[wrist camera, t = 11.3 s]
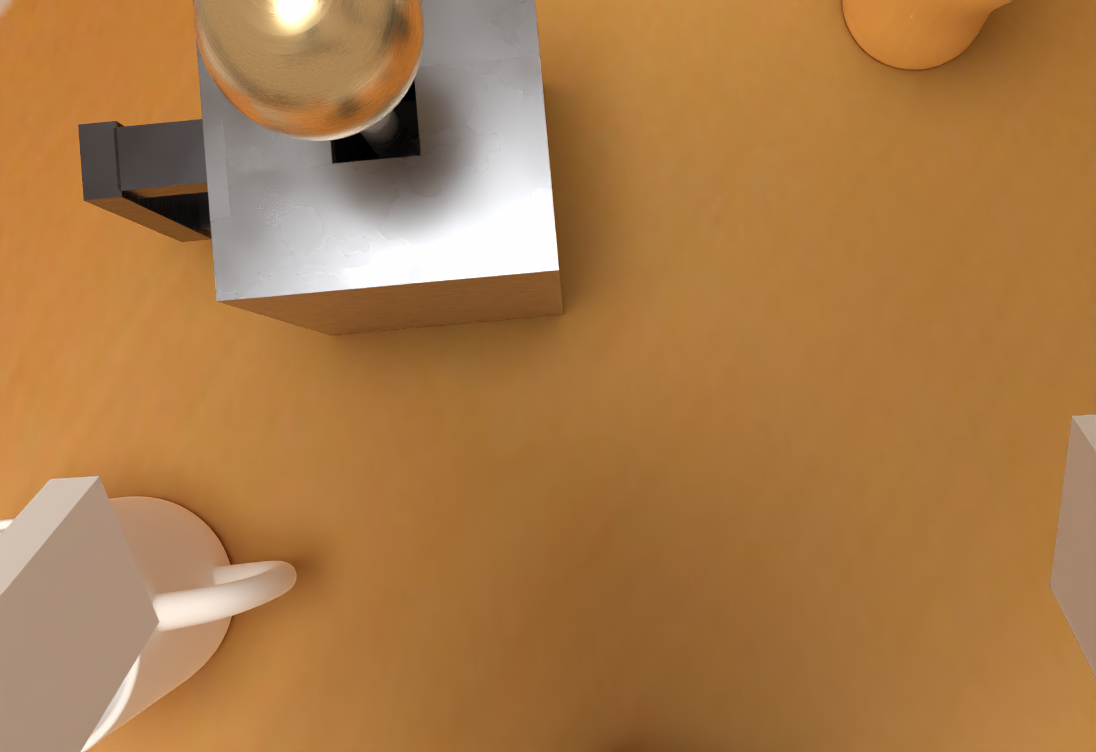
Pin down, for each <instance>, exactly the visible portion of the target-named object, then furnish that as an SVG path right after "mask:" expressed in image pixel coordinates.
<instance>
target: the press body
mask: <svg viewBox="0 0 1096 752" xmlns="http://www.w3.org/2000/svg"><path fill="white" fill-rule="evenodd" d="M421 4H422V10H423V17H424V44H423V52H422V56H421V61H420V65H419V68H418V71H417V73H416V76H415V78H414V81H413V82H412V84H411V86H410V88H409V90H408V91H407V93H406V94H405V96H404V97H403V98H402V100H401V101H411V100H416V103H417V115H418V127H419V139H420V150H421V155H420V156H409V157H398V158H388V159H377V160H366V161H356V162H345V163H337V162H336V150H335V139H334V140H328V141H309V140H300V139H295V138H291V137H287V136H283V135H280V134H277V133H275V132H272V131H269V130H267V129H266V128H264V127H262V126H260V125H258V124H256V123H255V122H253V121H252V120H250V119H249V118H248V117H246V116H245V115H243V114H242V113H241V112H239V111H238V110H237V109H236V108H235V107H234V106H233V105H232V104H231V103H230V102H229V101H228V100H227V98H226V97H225V96H224V95H223V94H222V92H221V91H220V90H219V89H218V87H217V86H216V85H215V83H214V81H213V80H212V78H211V76H210V75H209V73H208V70H207V68H206V66H205V64H204V61H203V59H202V57H201V54H200V51H199V47H198V44H197V56H198V69H199V82H200V95H201V107H202V119H200V120H189V121H179V122H168V123H157V124H147V125H136V126H126V127H125V126H123V125H122V124H120V123H118V122H117V121H112V122H101V123H91V124H80V125H78V127H79V141H80V154H81V168H82V182H83V195H84V201H86V202H89V203H91V204H93V205H96V206H98V207H100V208H103V209H105V210H108V211H110V212H112V213H115V214H117V215H119V216H122V217H124V218H126V219H129V220H131V221H133V222H136V223H138V224H141V225H143V226H145V227H148V228H150V229H152V230H155V231H157V232H159V233H162V234H164V235H166V236H169V237H171V238H174V239H176V240H178V241H181V242H185V241H196V240H207V239H212V249H213V262H214V275H215V288H216V300H217V302H221V303H224V304H227V305H231V306H234V307H237V308H241V309H244V310H247V311H251V312H254V313H257V314H261V315H264V316H267V317H271V318H274V319H277V320H281V321H284V322H287V323H291V324H294V325H297V326H301V327H304V328H308V329H311V330H314V331H318V332H321V333H324V334H328V335H339V334H350V333H361V332H373V331H384V330H395V329H406V328H417V327H428V326H439V325H450V324H461V323H472V322H483V321H494V320H505V319H516V318H528V317H539V316H550V315H561V314H563V304H562V293H561V282H560V270H559V259H558V248H557V237H556V225H555V214H554V203H553V192H552V181H551V169H550V158H549V147H548V136H547V124H546V113H545V102H544V91H543V80H542V69H541V58H540V47H539V37H538V26H537V15H536V4H535V0H421ZM193 5H194V0H193ZM196 43H197V40H196ZM401 101H400V102H401Z"/></svg>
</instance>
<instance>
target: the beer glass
mask: <svg viewBox="0 0 1096 752" xmlns="http://www.w3.org/2000/svg"><path fill="white" fill-rule="evenodd" d="M1012 1H1014V0H842V7H843V14H844V18H845V21H846V24H847V27H848V29H849V31H850V33H851V35H852V36H853V38H854V39H855V41H856V42H857V43H858V44H859V46H860V47H861V48H862V49H863V50H864V51H865V52H867V53H868V54H869V55H870V56H872V57H873V58H875V59H876V60H878V61H880V62H882V63H884V64H886V65H889V66H892V67H896V68H900V69H907V70H921V69H928V68H932V67H936V66H939V65H941V64H944V63H946V62H948V61H950V60H952V59H953V58H955V57H956V56H958V55H959V54H960V53H962V52H963V51H964V50H965V49H966V48H967V47H968V46H969V45H970V44H971V43H972V41H973V40H974V39H975V38H976V36H977V35H978V33H979V31H980V30H981V28H982V26H983V25H984V23H985V21H986V19H987V17H988V15H989V13H990V12H992V11H993V10H995V9H997V8H999V7H1001V6H1003V5H1005V4H1007V3H1010V2H1012Z"/></svg>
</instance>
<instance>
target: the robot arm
mask: <svg viewBox="0 0 1096 752" xmlns="http://www.w3.org/2000/svg"><path fill="white" fill-rule="evenodd" d="M1050 588H1051V590H1052V592H1053V594H1054V596H1055V598H1056V600H1057V602H1058V604H1059V606H1060V608H1061V610H1062V612H1063V614H1064V616H1065V618H1066V620H1067V622H1068V624H1069V626H1070V628H1071V630H1072V632H1073V634H1074V636H1075V638H1076V640H1077V642H1078V644H1079V646H1080V648H1081V650H1082V652H1083V654H1084V656H1085V658H1086V660H1087V662H1088V664H1089V666H1090V668H1091V670H1092V672H1093V674H1094V676H1095V678H1096V414H1093V415H1077V416H1072V420H1071V427H1070V435H1069V443H1068V451H1067V459H1066V466H1065V474H1064V482H1063V490H1062V497H1061V505H1060V513H1059V521H1058V529H1057V536H1056V544H1055V552H1054V560H1053V567H1052V575H1051V583H1050ZM158 623H159V620H158V617H157V615H156V612H155V610H154V607H153V605H152V603H151V600H150V598H149V595H148V593H147V590H146V588H145V586H144V583H143V581H142V578H141V576H140V574H139V571H138V569H137V566H136V564H135V561H134V559H133V557H132V554H131V552H130V549H129V547H128V544H127V542H126V540H125V537H124V535H123V532H122V530H121V527H120V525H119V523H118V520H117V518H116V515H115V513H114V511H113V508H112V506H111V503H110V501H109V498H108V496H107V494H106V491H105V489H104V486H103V484H102V481H101V479H100V477H99V476H92V477H76V478H60V479H50V480H49V481H48V482H47V483H46V484H45V486H44V487H43V488H42V489H41V490H40V491H39V492H38V493H37V494H36V496H35V497H34V498H33V499H32V500H31V501H30V502H29V503H28V505H27V506H26V507H25V508H24V509H23V510H22V511H21V512H20V513H19V515H18V516H17V517H16V518H15V519H14V520H13V521H12V522H11V524H10V525H9V526H8V527H7V528H6V529H5V530H4V531H3V533H2V534H1V535H0V752H81V750H82V749H83V747H84V745H85V744H86V742H87V741H88V739H89V737H90V736H91V734H92V732H93V731H94V729H95V727H96V726H97V724H98V722H99V721H100V719H101V717H102V716H103V714H104V712H105V711H106V709H107V708H108V706H109V704H110V703H111V701H112V699H113V698H114V696H115V694H116V693H117V691H118V689H119V688H120V686H121V684H122V683H123V681H124V679H125V678H126V676H127V675H128V673H129V671H130V670H131V668H132V666H133V665H134V663H135V661H136V660H137V658H138V656H139V655H140V653H141V651H142V650H143V648H144V646H145V645H146V643H147V641H148V640H149V638H150V637H151V635H152V633H153V632H154V630H155V628H156V627H157V625H158Z"/></svg>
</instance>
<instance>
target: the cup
mask: <svg viewBox="0 0 1096 752" xmlns="http://www.w3.org/2000/svg"><path fill="white" fill-rule="evenodd" d="M109 501H110V503H111V506H112V508H113V511H114V513H115V515H116V518H117V520H118V523H119V525H120V527H121V530H122V532H123V535H124V537H125V540H126V542H127V544H128V547H129V549H130V552H131V554H132V557H133V559H134V561H135V564H136V566H137V569H138V571H139V574H140V576H141V578H142V581H143V583H144V586H145V588H146V590H147V593H148V595H149V598H150V600H151V603H152V605H153V607H154V610H155V612H156V615H157V617H158V620H159V623H158V625H157V627H156V628H155V630H154V632H153V633H152V635H151V637H150V638H149V640H148V641H147V643H146V645H145V646H144V648H143V650H142V651H141V653H140V655H139V656H138V658H137V660H136V661H135V663H134V665H133V666H132V668H131V670H130V671H129V673H128V675H127V676H126V678H125V679H124V681H123V683H122V684H121V686H120V688H119V689H118V691H117V693H116V694H115V696H114V698H113V699H112V701H111V703H110V704H109V706H108V708H107V709H106V711H105V712H104V714H103V716H102V717H101V719H100V721H99V722H98V724H97V726H96V727H95V729H94V731H93V732H92V734H91V736H90V737H89V739H88V741H87V742H86V744H85V745H84V747H83V749H82V750H81V752H85V751H87V750H88V749H89V748H91V747H92V746H94V745H95V744H96V743H98V742H99V741H101V740H102V739H104V738H105V737H106V736H108V735H109V734H111V733H112V732H114V731H115V730H116V729H118V728H119V727H121V726H122V725H123V724H125V723H126V722H128V721H129V720H131V719H132V718H133V717H135V716H136V715H138V714H139V713H141V712H142V711H143V710H145V709H146V708H148V707H149V706H150V705H152V704H153V703H155V702H156V701H158V700H159V699H160V698H162V697H163V696H165V695H166V694H168V693H169V692H170V691H172V690H173V689H175V688H176V687H178V686H179V685H180V684H182V683H183V682H184V681H186V680H187V679H189V678H190V677H191V676H192V675H194V674H195V673H196V672H197V671H198V670H199V669H200V668H202V667H203V666H204V665H205V664H206V662H207V661H208V660H209V659H210V658H211V657H212V655H213V654H214V653H215V651H216V650H217V649H218V647H219V645H220V644H221V642H222V640H223V638H224V636H225V634H226V632H227V630H228V627H229V624H230V621H231V617H232V616H233V615H236V614H239V613H242V612H245V611H247V610H250V609H252V608H255V607H257V606H260V605H262V604H265V603H267V602H269V601H271V600H273V599H275V598H277V597H279V596H281V595H283V594H284V593H286V592H287V591H289V590H290V589H291V588H292V587H293V586H294V584H295V582H296V577H297V573H296V571H295V568H294V567H293V566H292V565H291V564H290V563H287V562H284V561H261V562H251V563H243V564H235V565H230V562H229V559H228V556H227V554H226V552H225V550H224V548H223V546H222V544H221V542H220V541H219V539H218V538H217V536H216V535H215V533H214V532H213V531H212V530H211V529H210V527H209V526H208V525H207V524H206V523H205V522H204V521H203V520H201V519H200V518H199V517H198V516H196V515H195V514H194V513H192V512H191V511H189V510H187V509H186V508H184V507H182V506H180V505H178V504H175V503H172V502H170V501H166V500H163V499H158V498H152V497H143V496H128V497H119V498H112V499H109ZM15 518H16V517H14V518H9V519H4V520H0V535H1V534H2V533H3V531H4V530H5V529H6V528H7V527H8V526H9V525H10V524H11V522H12V521H13V520H14V519H15Z"/></svg>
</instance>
